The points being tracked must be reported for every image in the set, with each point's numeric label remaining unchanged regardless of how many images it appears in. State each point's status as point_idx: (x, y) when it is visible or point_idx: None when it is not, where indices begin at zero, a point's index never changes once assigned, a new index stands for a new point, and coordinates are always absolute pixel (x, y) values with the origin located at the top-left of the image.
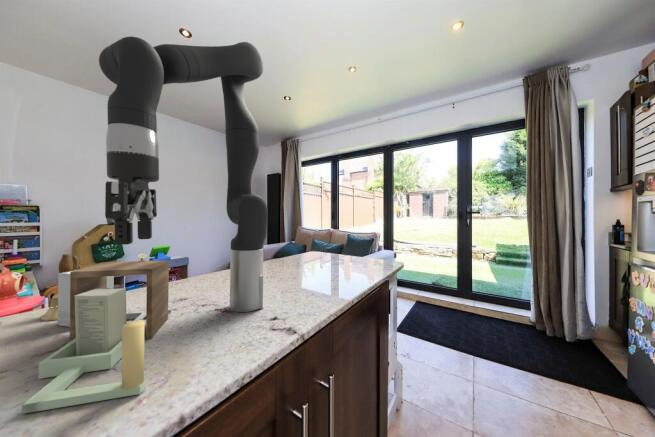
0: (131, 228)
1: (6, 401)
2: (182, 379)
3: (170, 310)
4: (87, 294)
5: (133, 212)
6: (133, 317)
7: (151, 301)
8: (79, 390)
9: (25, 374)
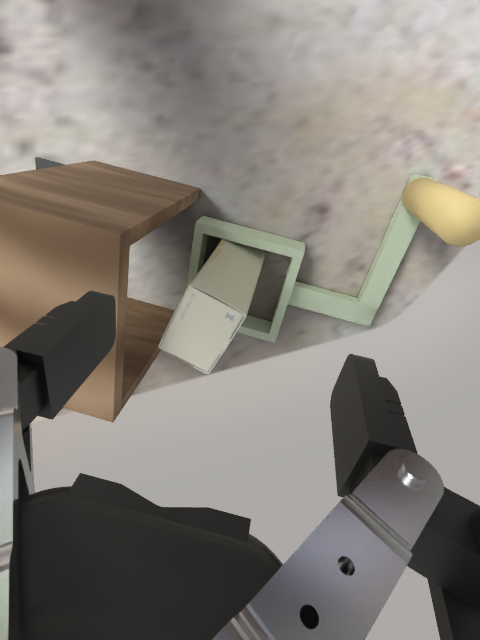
0: (378, 412)
1: (316, 344)
2: (436, 98)
3: (38, 159)
4: (211, 354)
5: (376, 509)
6: None
7: (167, 207)
8: (380, 271)
9: (249, 347)
